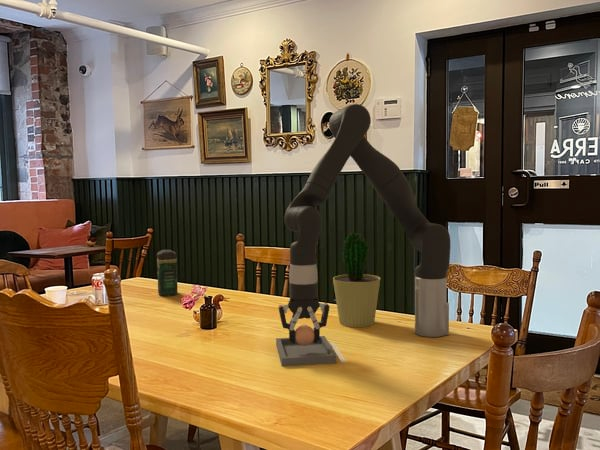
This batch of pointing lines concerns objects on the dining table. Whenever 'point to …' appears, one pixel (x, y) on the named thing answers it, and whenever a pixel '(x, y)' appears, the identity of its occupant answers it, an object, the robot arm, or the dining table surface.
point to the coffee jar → (167, 272)
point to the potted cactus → (356, 286)
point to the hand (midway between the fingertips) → (304, 342)
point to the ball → (304, 335)
